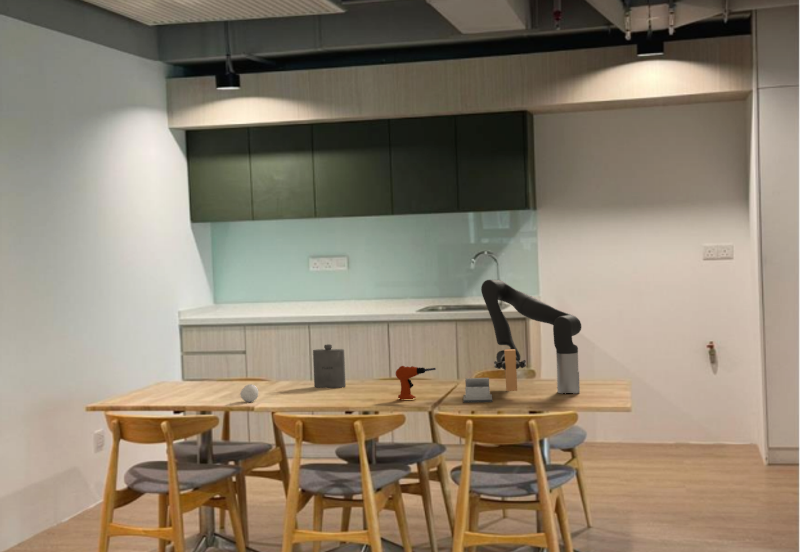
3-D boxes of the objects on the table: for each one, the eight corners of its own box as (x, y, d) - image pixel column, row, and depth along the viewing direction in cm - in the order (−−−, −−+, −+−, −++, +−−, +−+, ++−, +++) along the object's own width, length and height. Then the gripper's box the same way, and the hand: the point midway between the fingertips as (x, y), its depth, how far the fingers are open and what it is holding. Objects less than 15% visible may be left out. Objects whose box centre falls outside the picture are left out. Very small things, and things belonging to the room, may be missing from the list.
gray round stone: (249, 399, 470) (249, 382, 470) (262, 401, 466) (262, 383, 465) (237, 402, 463) (236, 385, 463) (250, 403, 459) (249, 386, 459)
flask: (312, 388, 498) (310, 345, 497) (316, 386, 504) (314, 344, 503) (343, 388, 495) (341, 345, 494) (346, 386, 500) (345, 343, 499)
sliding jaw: (489, 393, 456) (488, 377, 455) (489, 394, 453) (488, 378, 452) (465, 394, 456) (465, 378, 456) (465, 395, 453) (465, 379, 453)
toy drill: (438, 397, 448) (432, 362, 448) (396, 402, 455) (391, 367, 455) (441, 396, 453) (436, 361, 453) (400, 400, 459) (395, 366, 459)
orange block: (516, 389, 450) (515, 349, 449) (517, 390, 446) (515, 350, 445) (506, 389, 450) (504, 349, 450) (506, 391, 446) (504, 350, 445)
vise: (491, 396, 456) (491, 382, 456) (492, 402, 442) (491, 387, 442) (463, 397, 457) (463, 383, 457) (463, 402, 443) (462, 388, 443)
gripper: (492, 353, 462) (493, 358, 445) (525, 352, 461) (527, 357, 444) (493, 371, 463) (494, 376, 446) (526, 369, 462) (528, 375, 445)
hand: (510, 366), depth 445 cm, fingers closed on orange block, 4 cm apart
